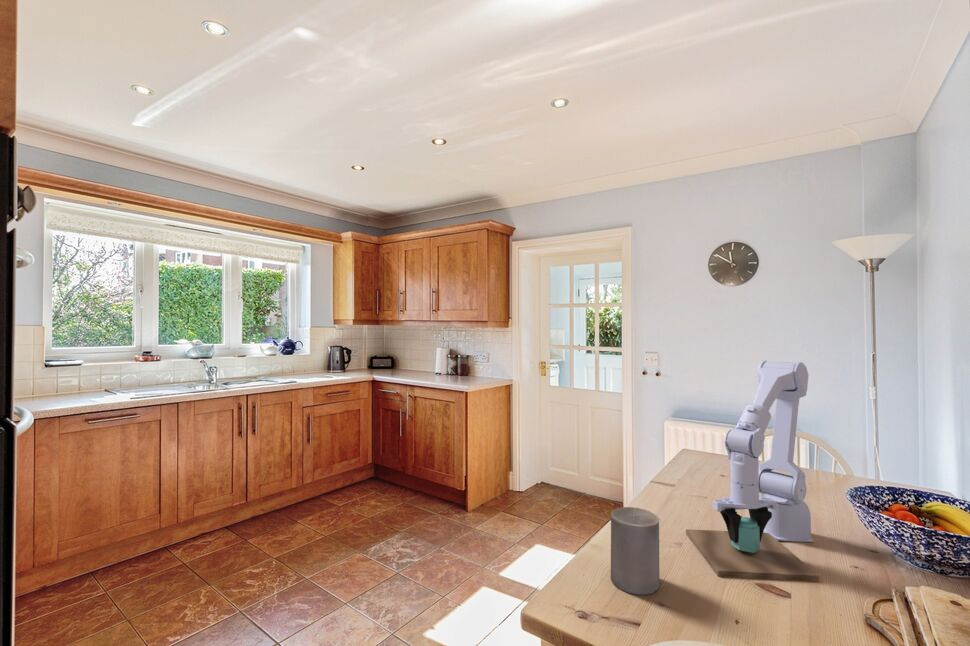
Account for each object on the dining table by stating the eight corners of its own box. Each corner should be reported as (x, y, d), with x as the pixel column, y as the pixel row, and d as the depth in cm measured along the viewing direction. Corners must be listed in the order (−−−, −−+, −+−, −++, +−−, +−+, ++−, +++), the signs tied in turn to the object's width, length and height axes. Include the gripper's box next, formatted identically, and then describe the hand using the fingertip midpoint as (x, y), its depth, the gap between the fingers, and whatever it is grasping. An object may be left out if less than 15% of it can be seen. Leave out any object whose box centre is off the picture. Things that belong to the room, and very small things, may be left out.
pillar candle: (605, 569, 98) (605, 500, 99) (650, 570, 98) (650, 500, 98) (617, 595, 89) (617, 518, 89) (667, 596, 88) (666, 519, 89)
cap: (747, 540, 107) (746, 515, 108) (764, 552, 102) (763, 525, 102) (727, 541, 107) (727, 515, 107) (743, 553, 101) (742, 526, 101)
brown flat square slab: (768, 537, 113) (768, 532, 113) (819, 581, 93) (818, 575, 93) (685, 534, 115) (685, 529, 115) (718, 576, 95) (718, 570, 95)
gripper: (762, 475, 109) (762, 531, 109) (704, 476, 108) (705, 533, 108) (783, 485, 102) (784, 545, 102) (722, 486, 101) (723, 548, 101)
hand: (745, 540), depth 104 cm, fingers closed on cap, 5 cm apart
